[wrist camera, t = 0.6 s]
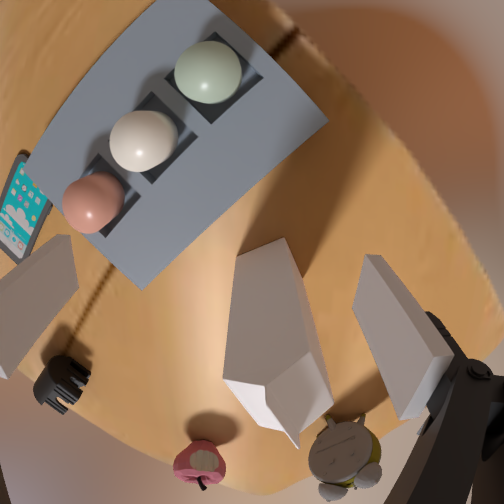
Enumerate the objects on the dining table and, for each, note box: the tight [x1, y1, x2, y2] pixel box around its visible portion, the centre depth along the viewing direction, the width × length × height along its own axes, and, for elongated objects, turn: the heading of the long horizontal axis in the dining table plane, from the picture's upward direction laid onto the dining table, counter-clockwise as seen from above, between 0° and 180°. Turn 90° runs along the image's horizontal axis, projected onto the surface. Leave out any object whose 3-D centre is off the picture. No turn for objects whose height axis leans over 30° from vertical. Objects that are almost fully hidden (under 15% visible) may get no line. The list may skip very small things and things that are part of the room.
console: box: [22, 0, 329, 290], centre depth 29 cm, size 20×26×4 cm
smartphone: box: [0, 154, 53, 265], centre depth 34 cm, size 9×1×15 cm
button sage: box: [174, 41, 242, 104], centre depth 24 cm, size 5×5×4 cm
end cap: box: [33, 355, 91, 415], centre depth 43 cm, size 10×7×7 cm
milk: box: [223, 237, 334, 449], centre depth 27 cm, size 6×6×22 cm
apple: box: [173, 440, 226, 491], centre depth 48 cm, size 10×9×10 cm
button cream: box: [110, 111, 178, 172], centre depth 26 cm, size 5×5×4 cm
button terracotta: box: [62, 171, 125, 234], centre depth 28 cm, size 5×5×4 cm
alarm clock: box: [308, 413, 382, 502], centre depth 43 cm, size 12×7×15 cm, turn 129°
